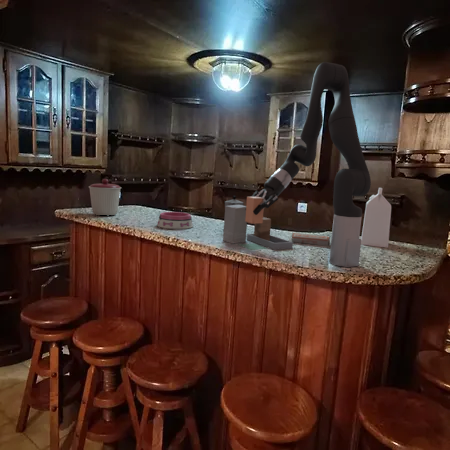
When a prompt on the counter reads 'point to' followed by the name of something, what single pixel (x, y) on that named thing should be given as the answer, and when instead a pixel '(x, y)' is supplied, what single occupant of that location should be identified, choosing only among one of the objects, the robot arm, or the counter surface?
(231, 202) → the coffeepot
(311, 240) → the packaged product
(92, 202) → the canister
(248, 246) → the green mat
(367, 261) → the counter surface
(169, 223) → the dog bowl
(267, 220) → the walnut block
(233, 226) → the skincare box
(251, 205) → the terracotta carton
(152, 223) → the counter surface
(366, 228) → the milk
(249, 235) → the grey bin
